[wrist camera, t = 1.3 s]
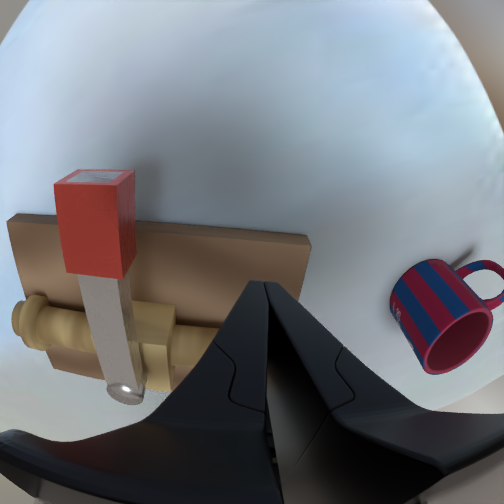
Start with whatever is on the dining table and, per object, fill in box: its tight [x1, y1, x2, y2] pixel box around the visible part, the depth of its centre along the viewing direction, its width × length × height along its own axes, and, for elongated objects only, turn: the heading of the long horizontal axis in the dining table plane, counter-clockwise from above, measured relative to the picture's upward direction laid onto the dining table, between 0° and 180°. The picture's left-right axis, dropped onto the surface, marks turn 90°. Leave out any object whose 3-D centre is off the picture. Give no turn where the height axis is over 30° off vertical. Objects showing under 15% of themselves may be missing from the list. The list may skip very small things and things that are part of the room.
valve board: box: [6, 214, 312, 397], centre depth 20 cm, size 16×22×6 cm
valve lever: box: [54, 169, 148, 405], centre depth 14 cm, size 14×3×2 cm, turn 173°
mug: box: [390, 259, 504, 375], centre depth 20 cm, size 7×10×7 cm
